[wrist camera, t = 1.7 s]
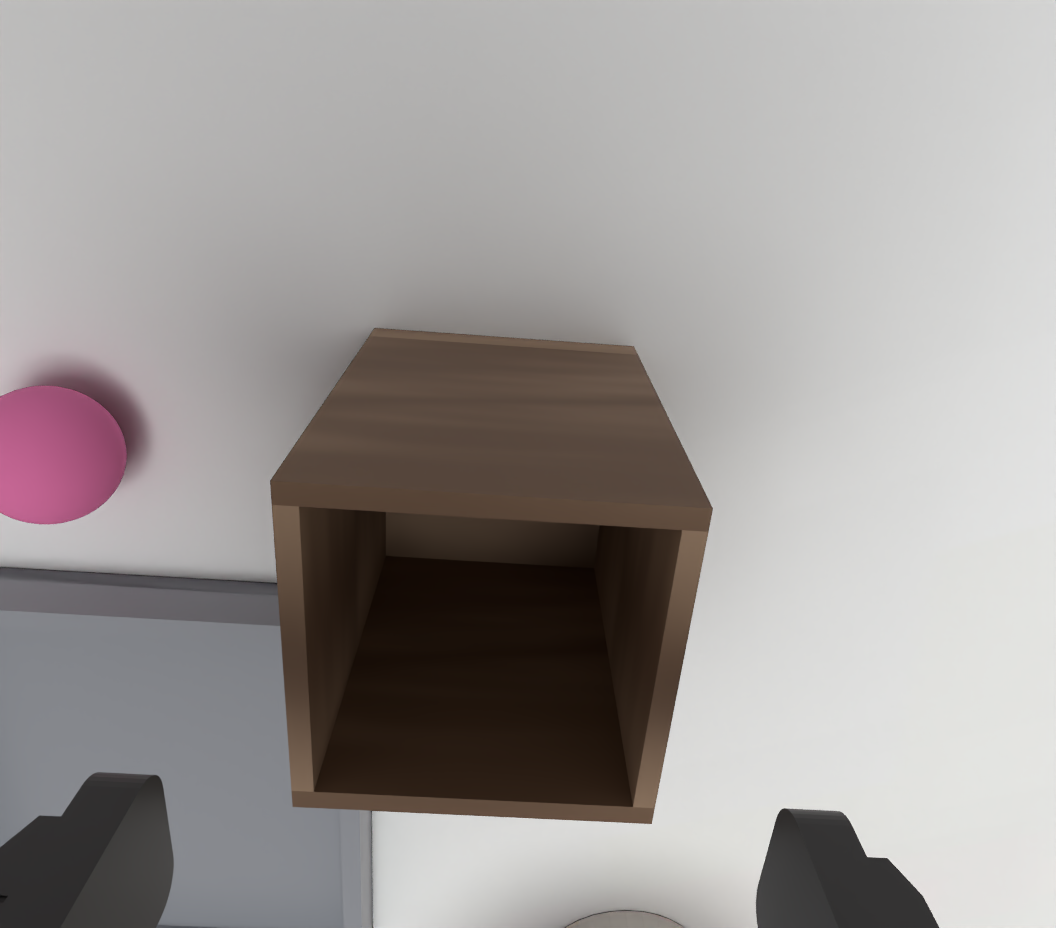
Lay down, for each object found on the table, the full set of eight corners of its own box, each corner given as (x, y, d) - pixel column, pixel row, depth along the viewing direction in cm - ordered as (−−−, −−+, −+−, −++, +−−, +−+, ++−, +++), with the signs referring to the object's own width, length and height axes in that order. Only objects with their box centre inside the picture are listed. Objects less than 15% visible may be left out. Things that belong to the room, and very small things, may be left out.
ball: (6, 363, 20) (-89, 409, 17) (140, 372, 20) (71, 419, 17) (31, 483, 21) (-53, 545, 18) (157, 490, 21) (94, 554, 18)
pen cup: (374, 327, 20) (270, 480, 11) (633, 346, 20) (713, 509, 12) (376, 552, 22) (292, 806, 14) (604, 566, 23) (652, 824, 14)
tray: (-87, 562, 22) (-141, 602, 20) (369, 588, 23) (355, 630, 21) (16, 914, 28) (-19, 968, 27) (373, 928, 29) (362, 983, 27)
